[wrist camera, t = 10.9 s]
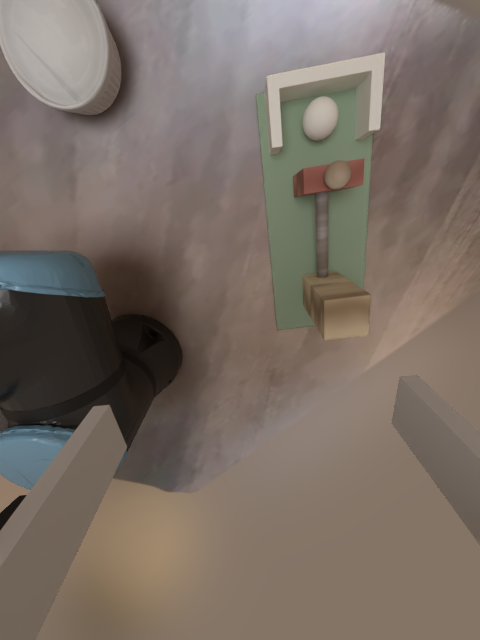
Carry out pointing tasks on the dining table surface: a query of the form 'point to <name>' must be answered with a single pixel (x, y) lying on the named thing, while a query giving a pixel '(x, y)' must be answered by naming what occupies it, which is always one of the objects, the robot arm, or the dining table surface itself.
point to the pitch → (312, 203)
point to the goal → (328, 80)
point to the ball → (320, 118)
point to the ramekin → (61, 53)
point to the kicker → (327, 287)
